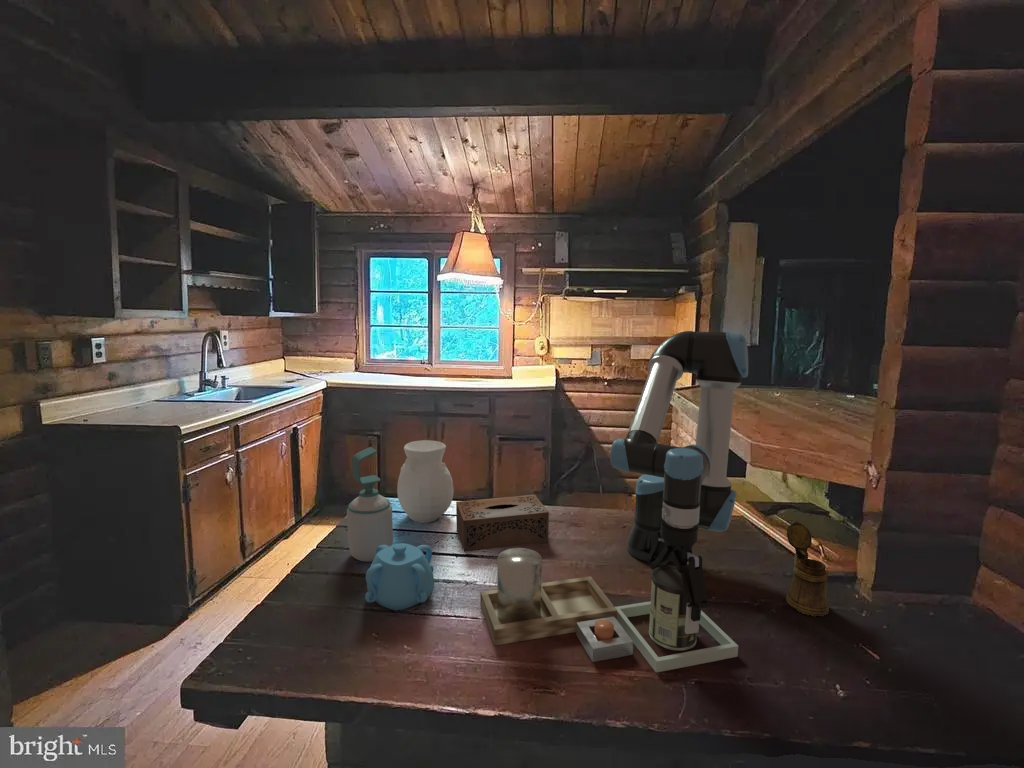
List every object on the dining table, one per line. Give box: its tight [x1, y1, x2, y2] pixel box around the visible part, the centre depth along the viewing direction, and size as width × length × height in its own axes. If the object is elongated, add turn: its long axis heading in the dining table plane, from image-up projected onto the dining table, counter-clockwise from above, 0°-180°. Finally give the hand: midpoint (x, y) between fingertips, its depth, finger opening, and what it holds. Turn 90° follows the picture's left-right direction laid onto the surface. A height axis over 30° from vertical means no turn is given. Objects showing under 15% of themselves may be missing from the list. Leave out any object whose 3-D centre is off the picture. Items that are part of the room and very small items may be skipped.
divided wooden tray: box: [479, 575, 617, 646], centre depth 123 cm, size 28×15×4 cm, turn 105°
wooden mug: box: [785, 520, 830, 617], centre depth 129 cm, size 9×14×18 cm, turn 179°
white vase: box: [396, 439, 455, 524], centre depth 175 cm, size 19×18×25 cm
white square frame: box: [614, 600, 739, 673], centre depth 116 cm, size 19×19×2 cm
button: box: [594, 620, 614, 641], centre depth 113 cm, size 4×4×4 cm
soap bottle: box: [346, 446, 394, 563], centre depth 149 cm, size 12×12×31 cm
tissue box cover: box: [455, 494, 550, 553], centre depth 163 cm, size 26×14×10 cm, turn 104°
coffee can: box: [648, 565, 698, 652], centre depth 115 cm, size 10×10×14 cm
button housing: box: [575, 617, 634, 663], centre depth 113 cm, size 9×9×3 cm
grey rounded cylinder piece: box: [496, 547, 543, 624], centre depth 120 cm, size 10×10×14 cm
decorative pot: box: [364, 542, 435, 612], centre depth 129 cm, size 16×16×14 cm
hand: (673, 613), depth 115 cm, fingers open, 13 cm apart
